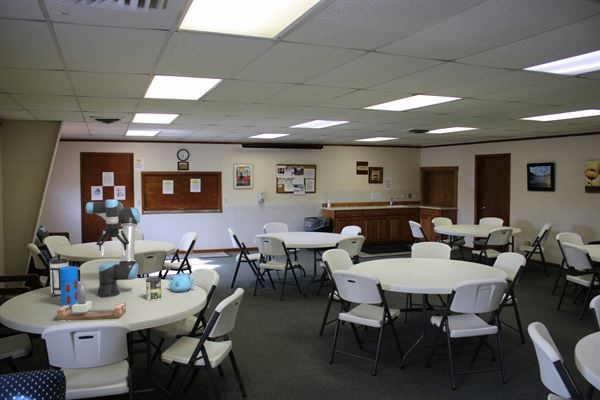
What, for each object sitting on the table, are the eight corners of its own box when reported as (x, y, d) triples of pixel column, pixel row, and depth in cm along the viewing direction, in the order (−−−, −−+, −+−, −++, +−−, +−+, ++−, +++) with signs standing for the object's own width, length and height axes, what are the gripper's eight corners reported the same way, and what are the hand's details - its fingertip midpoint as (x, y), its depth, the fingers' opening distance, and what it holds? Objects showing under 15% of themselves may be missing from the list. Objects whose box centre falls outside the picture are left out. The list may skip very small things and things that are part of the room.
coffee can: (164, 297, 326) (163, 277, 325) (156, 301, 316) (156, 280, 315) (151, 296, 328) (150, 277, 327) (143, 300, 318) (142, 280, 317)
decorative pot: (196, 291, 342) (195, 273, 342) (175, 294, 333) (175, 276, 332) (187, 287, 355) (187, 269, 355) (167, 290, 346) (166, 272, 345)
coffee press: (42, 296, 331) (41, 255, 329) (61, 291, 345) (60, 252, 344) (60, 298, 324) (58, 257, 323) (78, 293, 339) (77, 253, 337)
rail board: (65, 314, 287) (64, 303, 287) (127, 311, 291) (127, 301, 291) (55, 321, 273) (55, 310, 273) (121, 318, 277) (120, 307, 277)
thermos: (82, 302, 313) (81, 266, 312) (70, 307, 303) (68, 269, 301) (70, 301, 316) (68, 266, 315) (57, 305, 306) (56, 269, 305)
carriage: (78, 307, 286) (77, 282, 285) (92, 307, 287) (91, 282, 286) (72, 312, 276) (71, 286, 275) (86, 312, 277) (85, 286, 276)
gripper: (90, 224, 293) (91, 256, 294) (130, 223, 295) (131, 255, 296) (94, 222, 300) (95, 254, 302) (133, 222, 303) (134, 253, 304)
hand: (113, 255), depth 299 cm, fingers open, 13 cm apart
